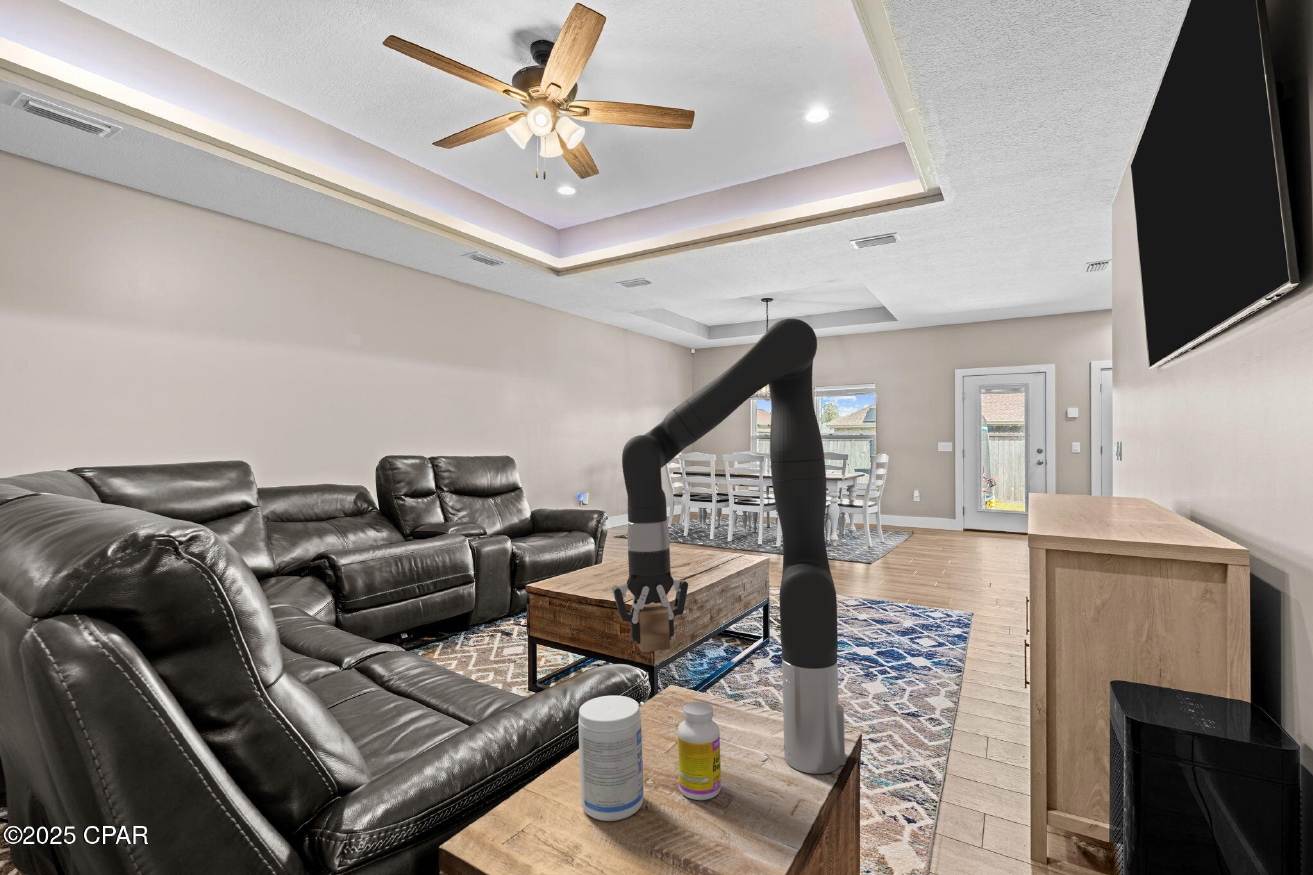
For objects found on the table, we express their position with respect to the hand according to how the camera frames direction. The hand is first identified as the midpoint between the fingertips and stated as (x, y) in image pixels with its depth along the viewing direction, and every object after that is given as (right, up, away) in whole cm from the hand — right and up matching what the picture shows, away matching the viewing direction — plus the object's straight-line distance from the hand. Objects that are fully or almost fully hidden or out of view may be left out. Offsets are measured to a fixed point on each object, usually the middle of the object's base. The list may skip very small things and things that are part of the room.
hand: (652, 640), depth 107 cm
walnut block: (0, -1, 0) cm, 1 cm away
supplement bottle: (+8, -19, -13) cm, 24 cm away
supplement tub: (-6, -20, -16) cm, 26 cm away
